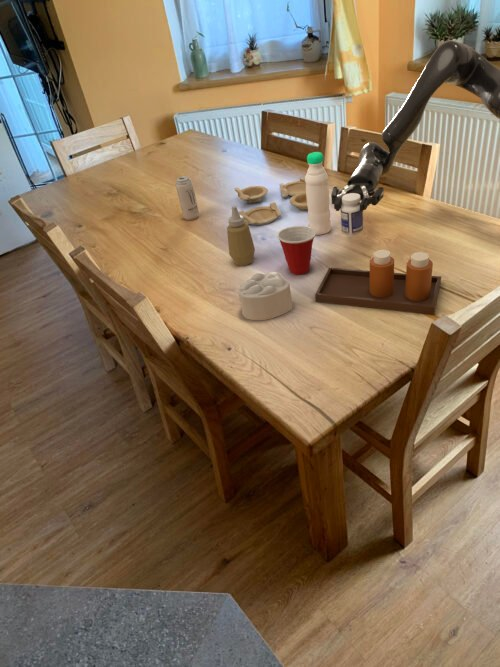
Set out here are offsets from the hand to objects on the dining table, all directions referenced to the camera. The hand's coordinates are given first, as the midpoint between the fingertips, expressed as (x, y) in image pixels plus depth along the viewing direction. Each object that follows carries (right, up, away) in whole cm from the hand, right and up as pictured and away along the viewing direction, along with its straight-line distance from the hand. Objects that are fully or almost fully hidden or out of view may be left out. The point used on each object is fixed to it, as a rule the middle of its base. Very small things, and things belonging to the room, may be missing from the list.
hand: (349, 207), depth 127 cm
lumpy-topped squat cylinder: (-21, -26, +5) cm, 34 cm away
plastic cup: (-11, -14, +17) cm, 25 cm away
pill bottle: (+2, -5, +7) cm, 9 cm away
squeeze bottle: (-27, -10, +26) cm, 39 cm away
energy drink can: (-47, +11, +58) cm, 75 cm away
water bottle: (-3, +1, +34) cm, 35 cm away
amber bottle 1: (+9, -21, +2) cm, 23 cm away
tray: (+8, -22, +2) cm, 23 cm away
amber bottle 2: (+17, -22, -2) cm, 28 cm away
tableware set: (-14, +16, +56) cm, 60 cm away
